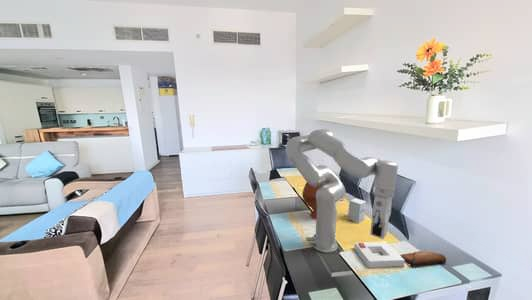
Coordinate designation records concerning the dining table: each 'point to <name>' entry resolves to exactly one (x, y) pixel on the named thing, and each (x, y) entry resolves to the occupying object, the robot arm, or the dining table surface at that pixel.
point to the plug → (384, 228)
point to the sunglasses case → (423, 258)
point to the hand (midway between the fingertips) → (378, 232)
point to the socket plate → (371, 260)
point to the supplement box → (356, 210)
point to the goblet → (311, 198)
